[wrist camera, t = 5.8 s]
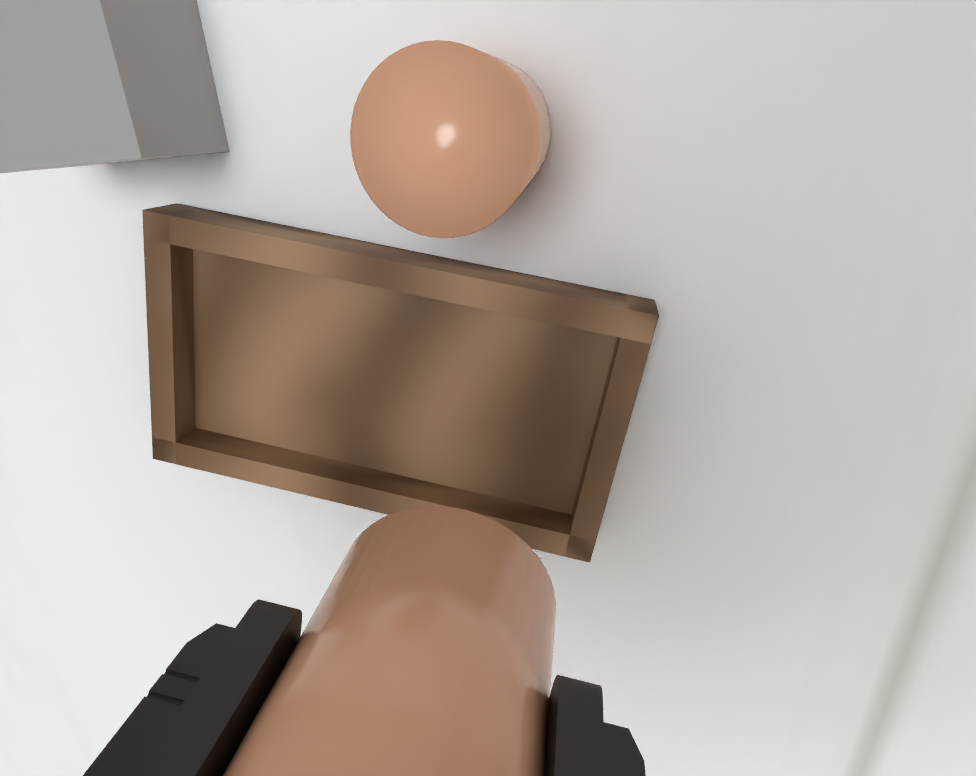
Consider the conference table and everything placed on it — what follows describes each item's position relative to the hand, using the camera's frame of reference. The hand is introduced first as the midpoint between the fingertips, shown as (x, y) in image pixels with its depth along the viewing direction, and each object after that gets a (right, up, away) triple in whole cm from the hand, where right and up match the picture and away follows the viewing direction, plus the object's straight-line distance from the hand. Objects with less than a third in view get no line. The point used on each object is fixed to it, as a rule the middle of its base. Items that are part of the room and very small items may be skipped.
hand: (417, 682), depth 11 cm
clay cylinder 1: (+1, +13, +11) cm, 17 cm away
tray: (-3, +5, +15) cm, 16 cm away
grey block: (-11, +16, +12) cm, 23 cm away
